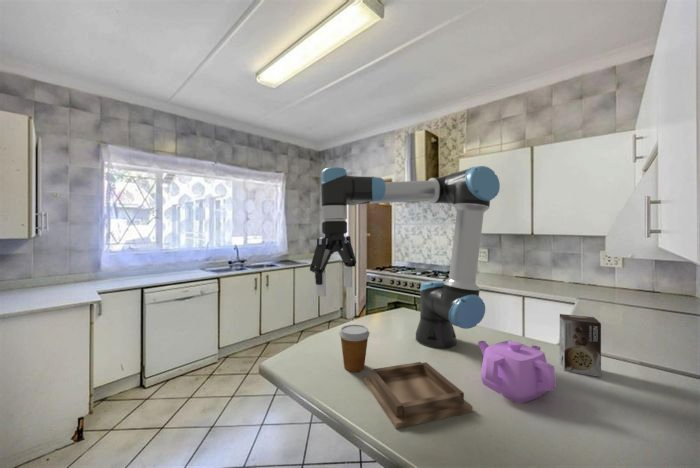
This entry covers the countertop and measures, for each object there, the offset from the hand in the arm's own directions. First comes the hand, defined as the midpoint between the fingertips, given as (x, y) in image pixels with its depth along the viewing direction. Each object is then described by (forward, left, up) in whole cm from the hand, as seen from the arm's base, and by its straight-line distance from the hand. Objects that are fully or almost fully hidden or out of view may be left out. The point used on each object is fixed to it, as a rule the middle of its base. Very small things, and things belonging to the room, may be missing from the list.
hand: (335, 291), depth 86 cm
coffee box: (-72, +21, -25) cm, 79 cm away
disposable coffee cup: (-6, -1, -25) cm, 26 cm away
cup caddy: (-16, +18, -25) cm, 34 cm away
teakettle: (-45, +22, -25) cm, 56 cm away
